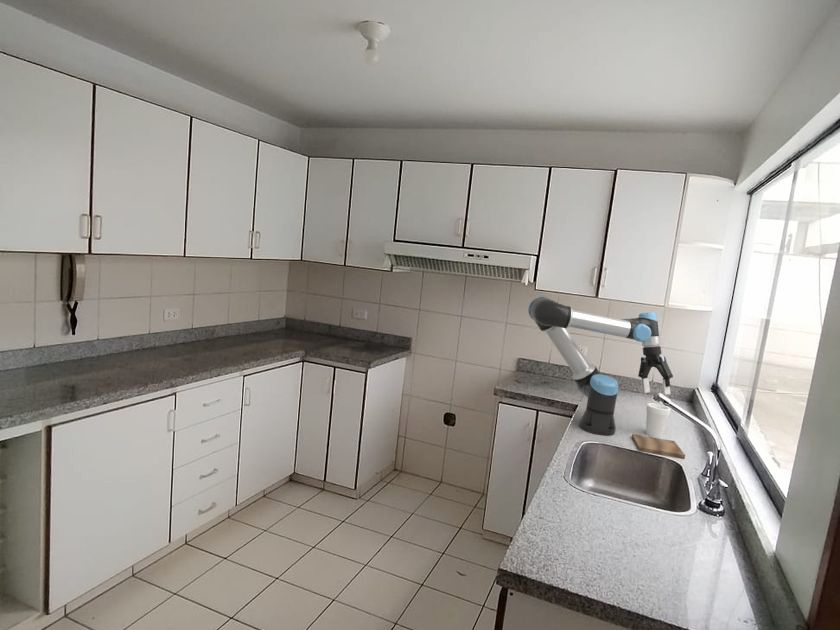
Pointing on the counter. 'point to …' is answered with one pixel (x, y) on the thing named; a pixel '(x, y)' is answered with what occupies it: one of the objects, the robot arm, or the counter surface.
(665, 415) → the foam cup
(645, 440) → the walnut board
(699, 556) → the counter surface
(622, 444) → the counter surface
